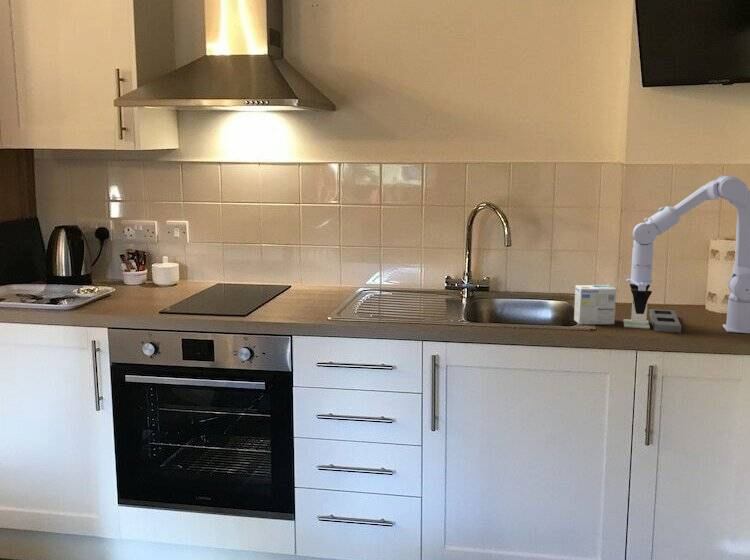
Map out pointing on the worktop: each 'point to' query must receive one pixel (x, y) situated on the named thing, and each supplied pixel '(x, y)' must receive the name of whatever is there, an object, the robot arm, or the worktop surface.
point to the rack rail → (665, 321)
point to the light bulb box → (595, 304)
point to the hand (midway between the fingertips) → (639, 310)
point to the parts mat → (628, 324)
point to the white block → (638, 316)
